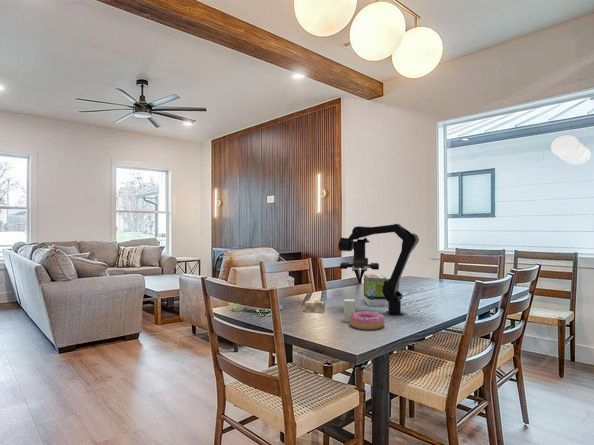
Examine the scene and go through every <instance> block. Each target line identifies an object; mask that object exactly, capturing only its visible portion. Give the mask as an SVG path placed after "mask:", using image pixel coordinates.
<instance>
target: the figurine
mask: <svg viewBox="0 0 594 445" xmlns="http://www.w3.org/2000/svg"><path fill="white" fill-rule="evenodd" d="M278 304H279V305H280V311H282V309H283V306H284V305H283V304H280V303H278ZM239 305H240V304H237V305H235V304H234V303H233V304H232V305H231V307H230V310H233V311H236V310H237V309H239V308H241V307H242V306H239ZM256 309H257V308H256ZM256 309H255V312H256V313H257V312H260V310H261V309H257V310H256ZM268 311H269V310H266V311H264V310H263V311H261V312H263V313H266V312H268ZM269 312H270V311H269ZM269 312H268V313H267V314H268V315H271V312H270V313H269ZM259 314H260V315H261V314H262V313H258V315H259ZM260 315H259V316H260ZM271 316H272V315H271Z"/></svg>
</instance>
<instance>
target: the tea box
mask: <svg viewBox="0 0 594 445" xmlns="http://www.w3.org/2000/svg"><path fill="white" fill-rule="evenodd" d="M387 279H388V278H387V277H386V276H385V275H383V274H375V273H374V274H371V273H370V274H369V273H367V274H363V301H364V303H366V305H367V306H368V307H387V306H388V303H387V300H386V297H385V296H384V295H383V293H382V290H383V288H382V287H383V285H384V282H385V280H387Z"/></svg>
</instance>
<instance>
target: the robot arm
mask: <svg viewBox="0 0 594 445" xmlns="http://www.w3.org/2000/svg"><path fill="white" fill-rule="evenodd" d="M389 233H394V234H396V235H397V237H399V238H400V239H401V240H402V242H401V251H400V253H399V255H398V257H397V258H398V259H397V261H396V264H395V265H394V268H393V271H392V274H391V276H390V278H387V280H385V282H384V285H383V287H382V288H383V290H382V293H383V295H384V296H385V297H386V300H387V302H388V303H387V308H388V309H387V310H386V311H385V312H386V314H388V315H390V316H402V315H403V316H404V312H402V307H401V306H402V305H401V304H402V302H401V301H402V299H403V297H404V296H403V293H401V292H400V290H399V287H400V281H401V277H402V274H403V272H404V271H405V267H406V265H407V263H408V260H409V257H410V255H411V254H412V252H413V251H414V249H415V248H416V246H417V245H418V244H419V240H420V238H419V236H418V235H417V234H416V233H413V232H410V231H409V230H408V229H406V228H404V226H402V225H401V224H400V223H393V224H387V225H379V226H378V225H377V226H363V225H362V226H360V225H359V226H355V227H353V228H352V231H351V234H350V235H349V236H348V237H339V242H338V244H337V245H338V246H337V247H338V251H339V252H352V251H353V259H352V263H350V262H349V261H346V262H345V261H341V263H340V266H339V269H340V270H341V269H342V270H347V269H348V268H351V271H353V272H354V274H355V276H356V278H357V282H358V284H362V279H363V278H364V273H365V272H367V271H368V269H371V270H374V271H375V270H376V271H377V270H380V264H379V262H370V263H369V258H368V257H366V244H367V243H370V240H369V239H368V238H367V237H369V236H372V235H379V234H389ZM359 269H360V270H359Z"/></svg>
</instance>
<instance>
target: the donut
mask: <svg viewBox="0 0 594 445" xmlns="http://www.w3.org/2000/svg"><path fill="white" fill-rule="evenodd" d="M349 323H350V325H351V327H353V328H355V329H359V330H365V331H366V330H367V331H368V330H369V331H370V330H371V331H375V330H378V329H381V328H383V327H384V325H385V318H384V315H383V314H382V313H379V312H377V311H376V312H375V311H370V310H369V311H368V310H366V311H365V310H363V311H362V310H360V311H359V310H358V311H355V312H354V313H352V314H351V315H350V322H349Z"/></svg>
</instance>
